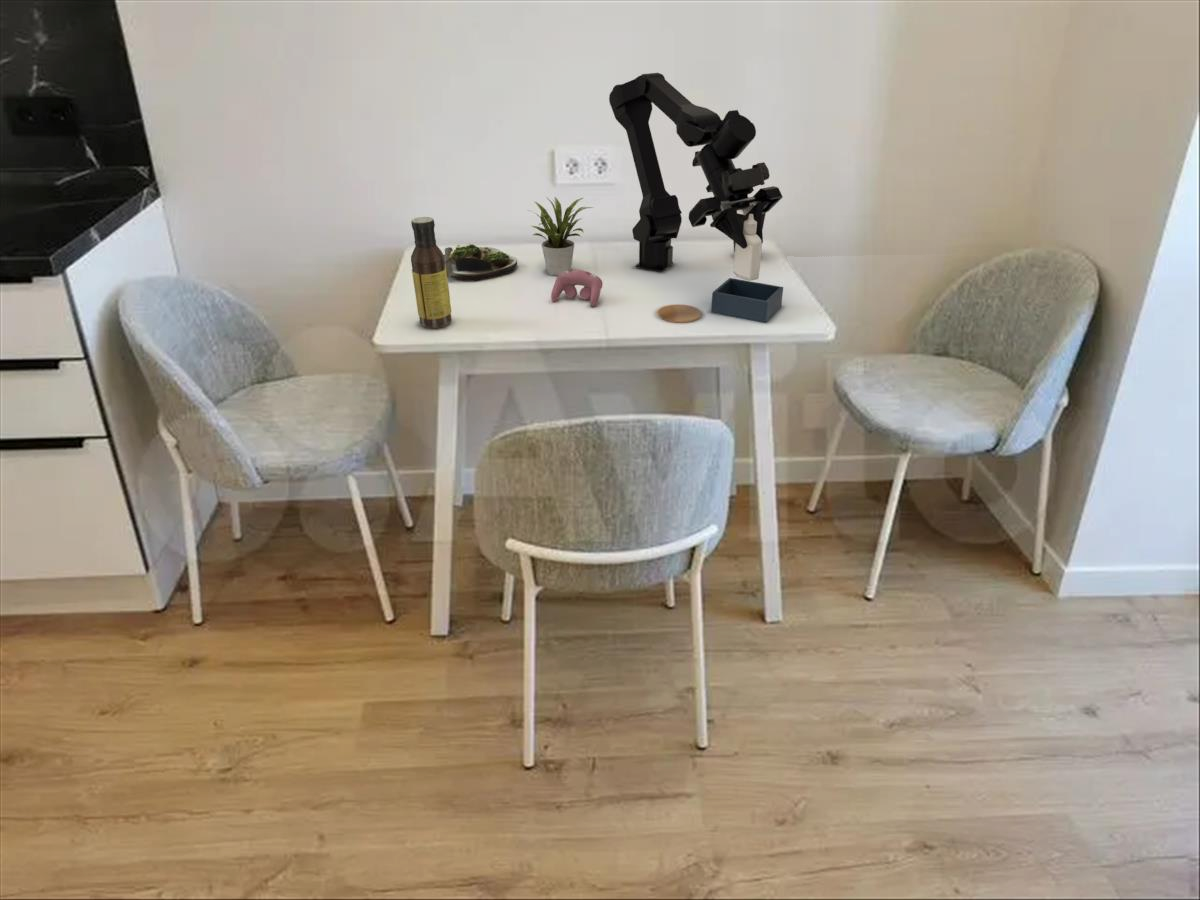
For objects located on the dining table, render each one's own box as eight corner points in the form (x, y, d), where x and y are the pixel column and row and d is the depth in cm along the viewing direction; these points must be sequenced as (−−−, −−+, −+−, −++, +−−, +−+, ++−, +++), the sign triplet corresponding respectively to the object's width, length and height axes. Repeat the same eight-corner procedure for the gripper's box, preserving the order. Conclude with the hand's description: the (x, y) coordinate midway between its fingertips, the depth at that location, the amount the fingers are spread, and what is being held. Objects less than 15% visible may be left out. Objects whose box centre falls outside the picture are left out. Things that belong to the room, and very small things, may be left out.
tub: (710, 312, 172) (712, 292, 170) (728, 297, 179) (729, 277, 177) (765, 322, 168) (767, 302, 165) (781, 306, 175) (783, 286, 172)
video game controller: (601, 308, 178) (606, 274, 177) (594, 306, 174) (599, 270, 173) (555, 303, 181) (560, 268, 180) (548, 300, 177) (553, 265, 176)
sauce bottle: (458, 320, 169) (449, 217, 159) (440, 331, 164) (429, 226, 154) (430, 314, 172) (419, 212, 161) (411, 326, 167) (398, 221, 157)
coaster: (650, 317, 170) (650, 315, 170) (668, 303, 176) (668, 301, 176) (690, 325, 166) (690, 323, 166) (707, 311, 173) (707, 309, 173)
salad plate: (415, 262, 199) (412, 242, 196) (485, 247, 207) (483, 228, 205) (454, 286, 185) (452, 265, 183) (527, 270, 194) (526, 249, 191)
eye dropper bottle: (736, 281, 167) (742, 219, 161) (731, 271, 172) (736, 210, 166) (759, 281, 167) (766, 218, 161) (754, 271, 172) (759, 210, 166)
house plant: (603, 262, 198) (603, 189, 189) (590, 283, 186) (589, 206, 178) (541, 258, 200) (538, 186, 192) (524, 279, 189) (521, 202, 180)
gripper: (701, 154, 156) (735, 232, 154) (781, 142, 165) (815, 215, 162) (673, 189, 166) (705, 262, 164) (750, 176, 175) (781, 245, 172)
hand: (753, 245), depth 165 cm, fingers closed on eye dropper bottle, 3 cm apart
